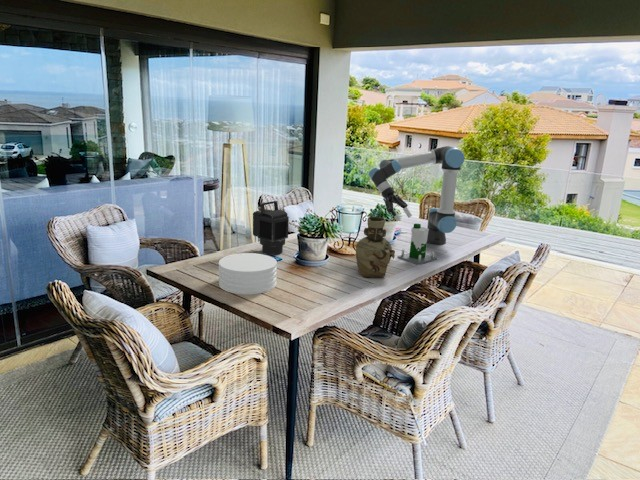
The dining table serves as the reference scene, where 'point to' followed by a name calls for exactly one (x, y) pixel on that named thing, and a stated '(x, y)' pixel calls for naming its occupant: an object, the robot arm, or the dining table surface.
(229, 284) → the plate stack
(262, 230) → the lantern
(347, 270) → the dining table surface
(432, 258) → the peg dock
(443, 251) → the dining table surface
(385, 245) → the ceramic vessel
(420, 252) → the soya milk
